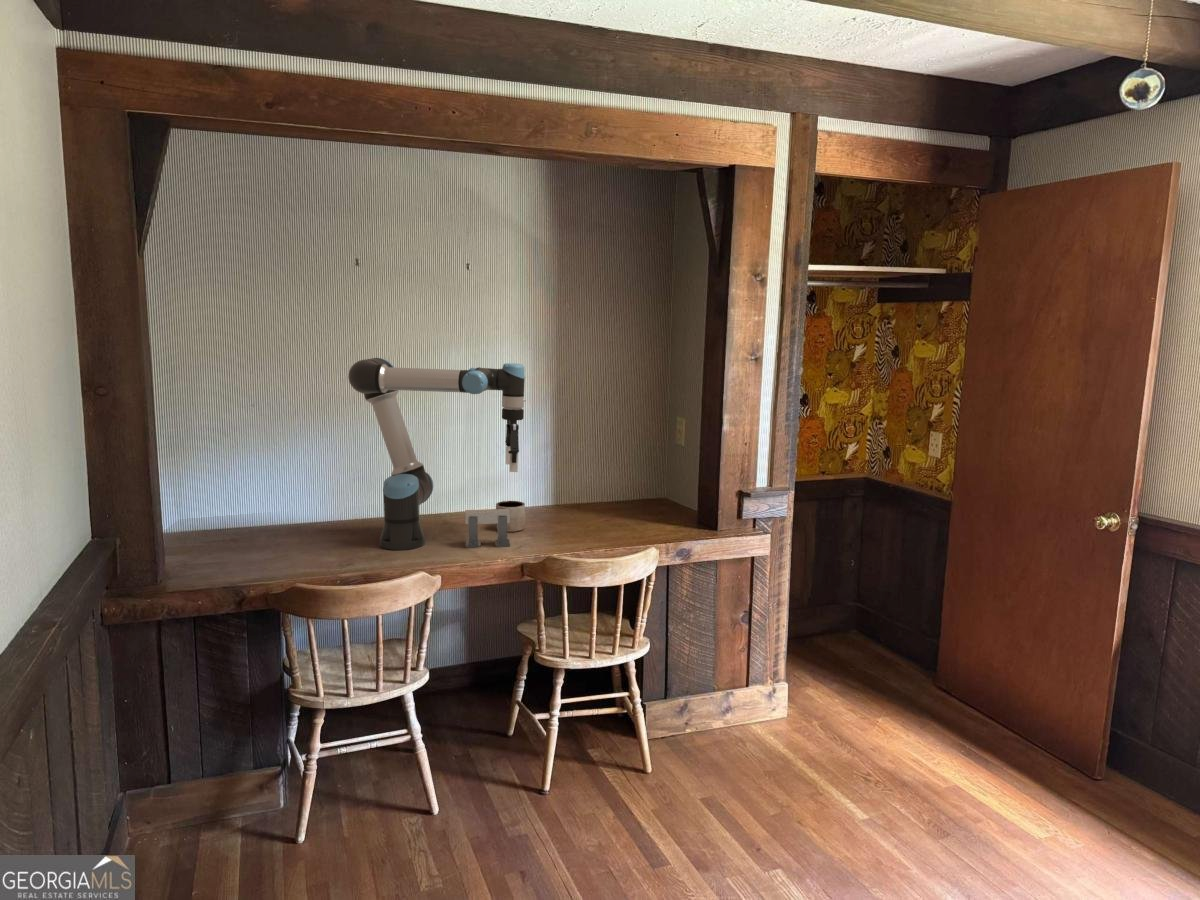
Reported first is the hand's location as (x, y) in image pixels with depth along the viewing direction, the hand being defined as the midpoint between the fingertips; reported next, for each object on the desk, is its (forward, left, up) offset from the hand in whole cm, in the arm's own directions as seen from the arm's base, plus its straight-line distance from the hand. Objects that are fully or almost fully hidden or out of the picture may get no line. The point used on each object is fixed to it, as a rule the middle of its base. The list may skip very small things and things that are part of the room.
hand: (511, 468), depth 280 cm
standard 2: (-4, -8, -25) cm, 27 cm away
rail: (-9, -8, -17) cm, 21 cm away
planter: (0, +12, -26) cm, 28 cm away
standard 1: (-14, -8, -25) cm, 30 cm away
